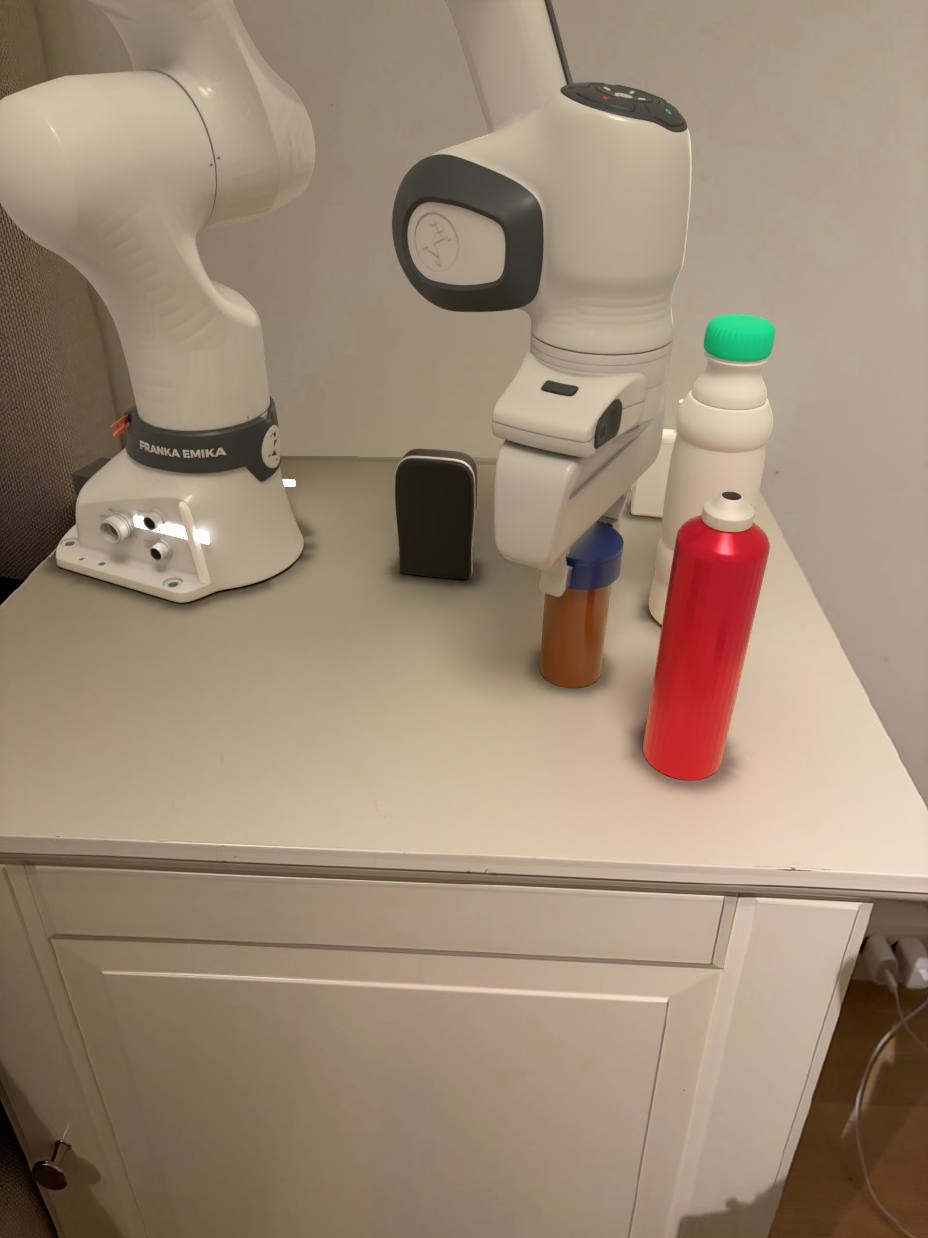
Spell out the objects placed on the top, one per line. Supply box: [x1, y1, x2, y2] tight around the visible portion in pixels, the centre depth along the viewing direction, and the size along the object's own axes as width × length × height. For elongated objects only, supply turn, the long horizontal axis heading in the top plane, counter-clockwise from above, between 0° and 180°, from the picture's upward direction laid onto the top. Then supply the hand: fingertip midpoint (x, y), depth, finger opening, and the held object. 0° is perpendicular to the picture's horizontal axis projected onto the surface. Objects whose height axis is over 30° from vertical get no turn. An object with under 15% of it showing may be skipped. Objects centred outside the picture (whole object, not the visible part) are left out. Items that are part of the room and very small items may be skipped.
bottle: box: [642, 491, 771, 781], centre depth 59 cm, size 5×5×20 cm
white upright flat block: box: [629, 398, 685, 519], centre depth 91 cm, size 8×2×12 cm, turn 79°
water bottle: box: [648, 313, 776, 626], centre depth 72 cm, size 7×7×25 cm
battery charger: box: [394, 448, 478, 580], centre depth 82 cm, size 7×4×11 cm, turn 80°
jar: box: [539, 584, 612, 689], centre depth 70 cm, size 5×5×11 cm
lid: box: [566, 522, 625, 590], centre depth 67 cm, size 6×6×2 cm
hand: (580, 563), depth 67 cm, fingers open, 7 cm apart
